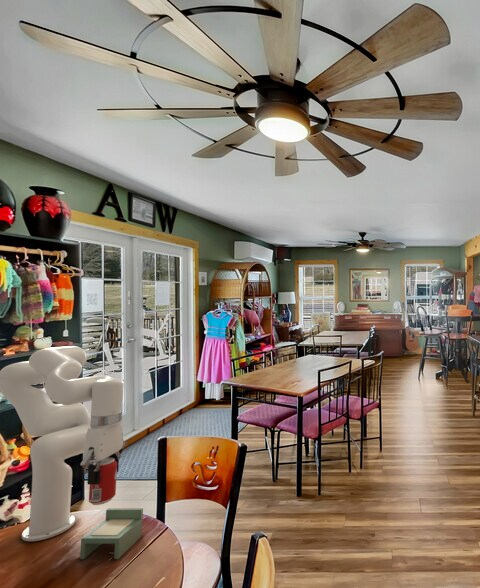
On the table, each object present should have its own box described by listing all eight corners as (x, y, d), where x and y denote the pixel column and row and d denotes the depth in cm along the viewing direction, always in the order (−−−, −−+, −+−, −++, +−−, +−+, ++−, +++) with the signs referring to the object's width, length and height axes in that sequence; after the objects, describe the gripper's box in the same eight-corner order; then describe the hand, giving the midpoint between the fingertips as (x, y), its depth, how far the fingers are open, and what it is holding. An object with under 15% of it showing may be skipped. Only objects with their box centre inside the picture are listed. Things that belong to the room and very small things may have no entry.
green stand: (79, 559, 100) (81, 528, 101) (106, 536, 110) (108, 508, 111) (118, 559, 101) (120, 528, 101) (141, 536, 111) (143, 508, 111)
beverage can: (120, 496, 108) (122, 457, 108) (101, 507, 101) (103, 466, 102) (102, 494, 108) (104, 456, 109) (82, 505, 102) (84, 465, 103)
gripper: (116, 410, 115) (113, 465, 114) (68, 428, 97) (64, 493, 96) (138, 410, 115) (136, 465, 114) (95, 429, 97) (91, 493, 97)
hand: (103, 477), depth 105 cm, fingers closed on beverage can, 6 cm apart
